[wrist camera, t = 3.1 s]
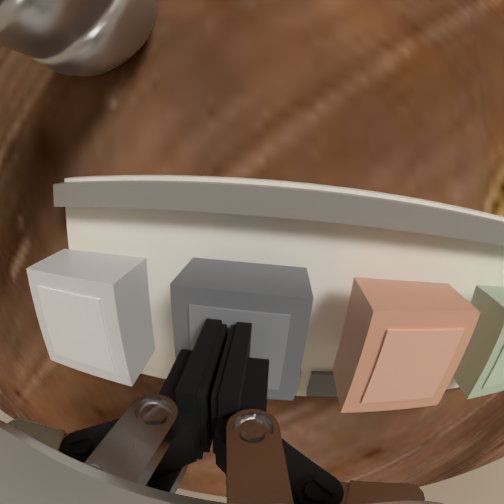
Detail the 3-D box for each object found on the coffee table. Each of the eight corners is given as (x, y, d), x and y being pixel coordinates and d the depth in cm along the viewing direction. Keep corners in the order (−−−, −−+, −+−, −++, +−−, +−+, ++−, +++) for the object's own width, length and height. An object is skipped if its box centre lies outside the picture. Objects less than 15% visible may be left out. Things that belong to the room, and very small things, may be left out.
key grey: (146, 258, 12) (111, 285, 9) (155, 349, 14) (131, 388, 11) (64, 248, 13) (24, 269, 10) (79, 331, 14) (49, 360, 11)
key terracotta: (448, 283, 11) (481, 313, 8) (417, 367, 13) (438, 406, 10) (354, 276, 12) (374, 312, 9) (332, 369, 13) (341, 414, 10)
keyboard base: (525, 222, 12) (544, 230, 10) (472, 376, 16) (483, 391, 14) (75, 176, 14) (53, 180, 12) (97, 351, 18) (84, 368, 16)
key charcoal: (306, 267, 13) (313, 299, 10) (292, 359, 14) (293, 402, 11) (193, 257, 13) (169, 284, 10) (195, 348, 14) (177, 387, 11)
